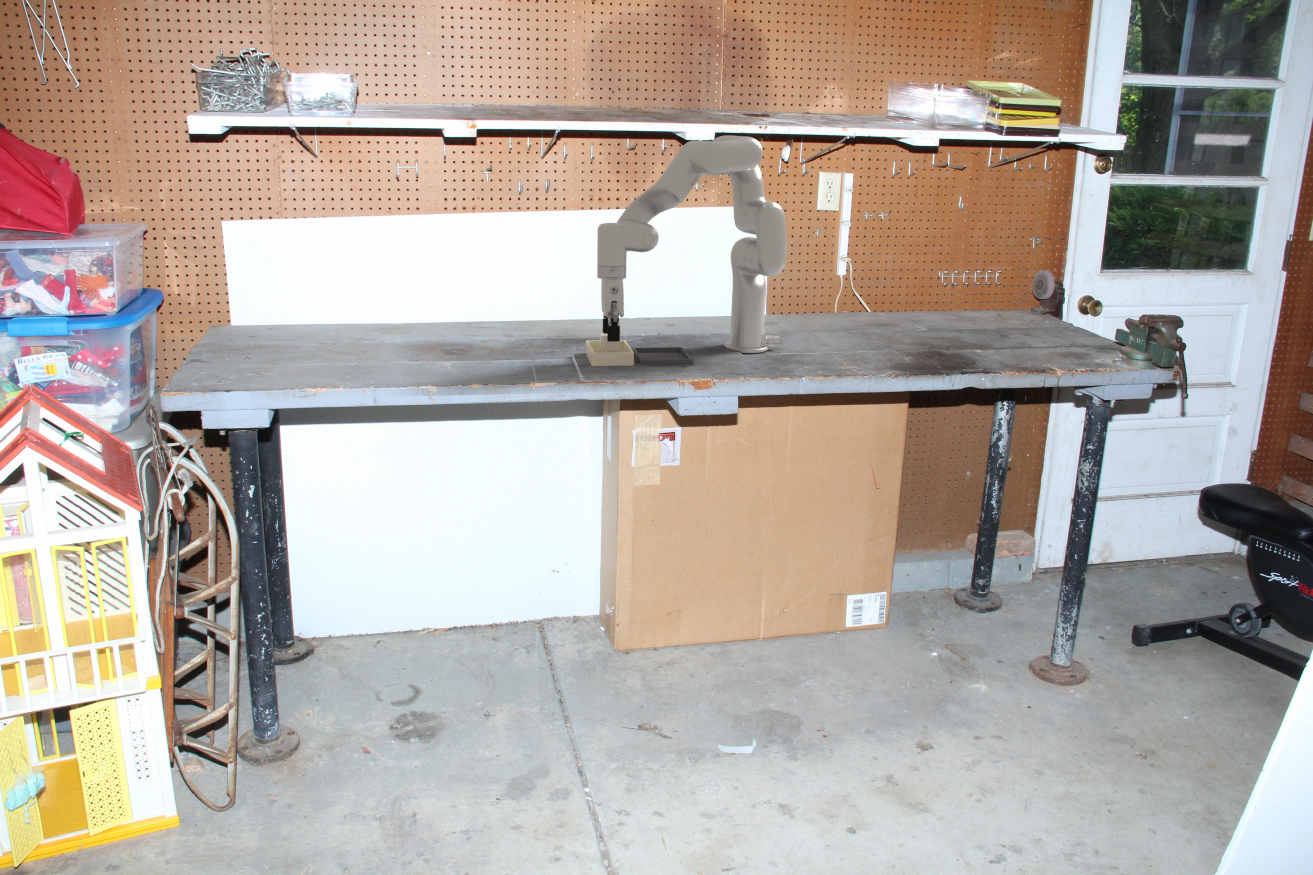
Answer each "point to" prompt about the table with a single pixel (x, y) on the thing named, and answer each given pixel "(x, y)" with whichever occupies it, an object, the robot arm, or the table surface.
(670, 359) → the pan
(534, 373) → the table surface
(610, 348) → the stone
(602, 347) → the stone
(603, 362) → the tub
